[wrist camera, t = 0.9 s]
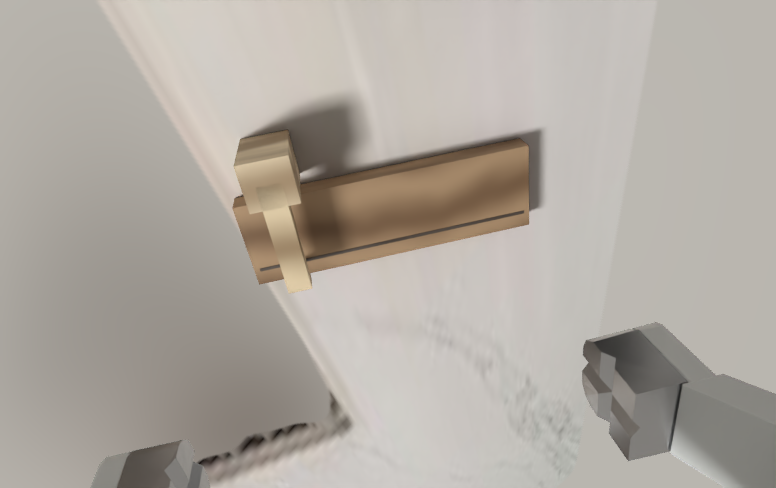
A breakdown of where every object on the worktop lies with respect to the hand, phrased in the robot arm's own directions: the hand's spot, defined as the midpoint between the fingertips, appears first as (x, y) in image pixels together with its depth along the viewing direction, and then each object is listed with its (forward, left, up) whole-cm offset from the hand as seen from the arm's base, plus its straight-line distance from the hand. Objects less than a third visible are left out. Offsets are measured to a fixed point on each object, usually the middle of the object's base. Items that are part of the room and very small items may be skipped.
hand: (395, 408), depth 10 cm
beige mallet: (+11, -5, -35) cm, 37 cm away
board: (+14, +4, -35) cm, 38 cm away
